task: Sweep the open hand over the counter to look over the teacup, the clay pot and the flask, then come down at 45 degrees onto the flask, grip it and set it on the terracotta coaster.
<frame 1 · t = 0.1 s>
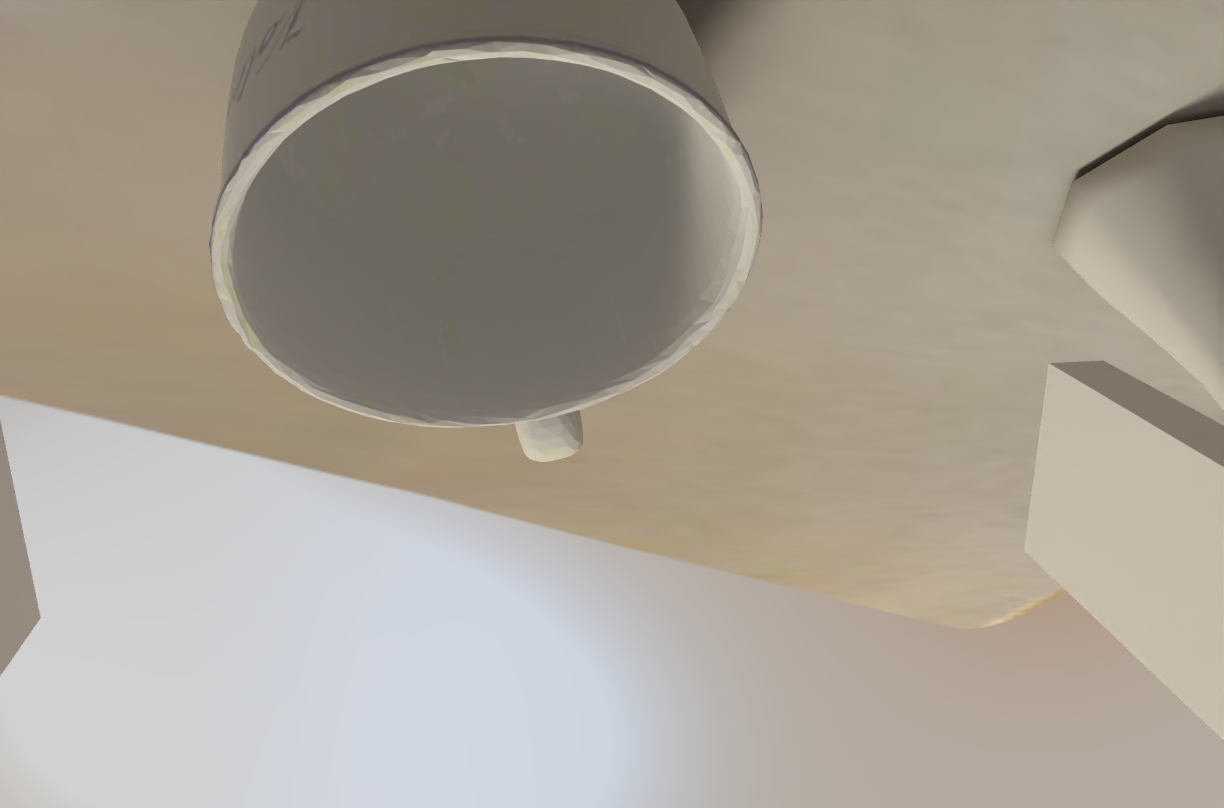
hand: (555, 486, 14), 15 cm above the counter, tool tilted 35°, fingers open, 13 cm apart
flask: (1164, 192, 34), on the counter
teacup: (479, 81, 28), on the counter
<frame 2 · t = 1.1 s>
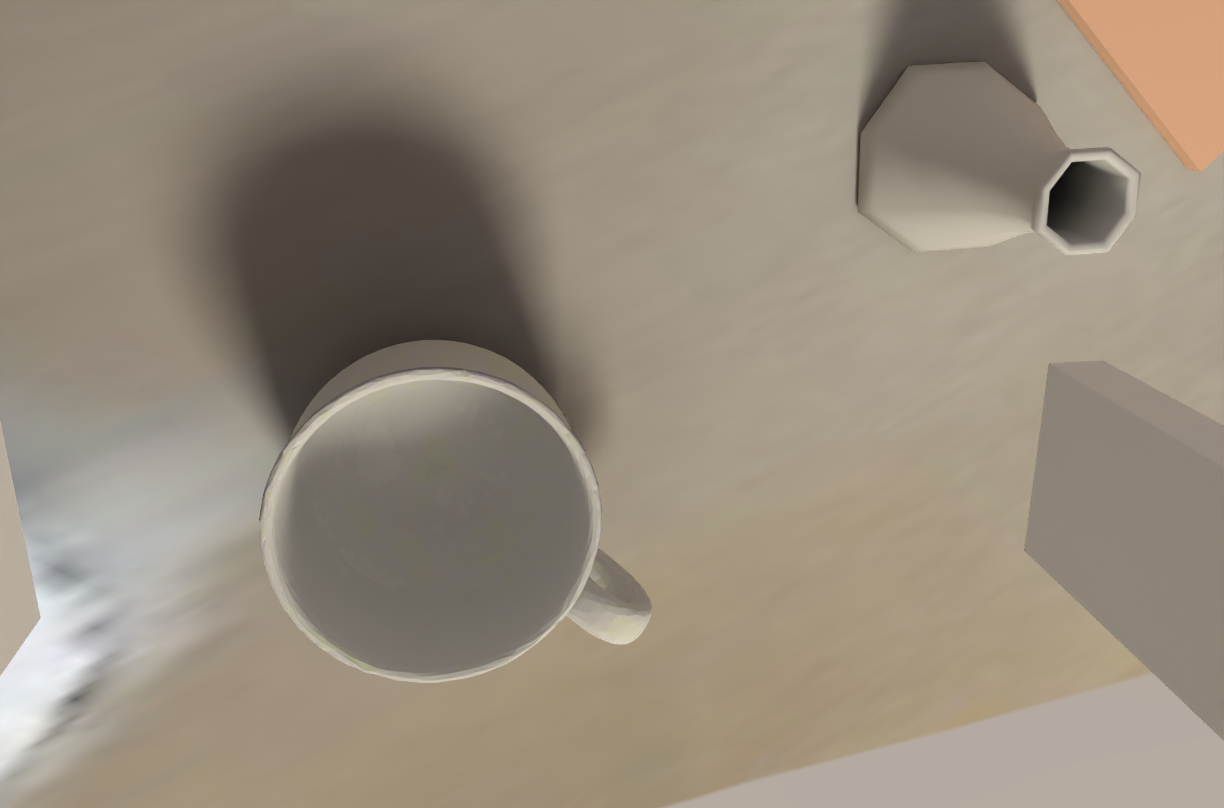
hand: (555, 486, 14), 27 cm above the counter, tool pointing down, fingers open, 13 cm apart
flask: (943, 157, 42), on the counter
teacup: (468, 467, 43), on the counter
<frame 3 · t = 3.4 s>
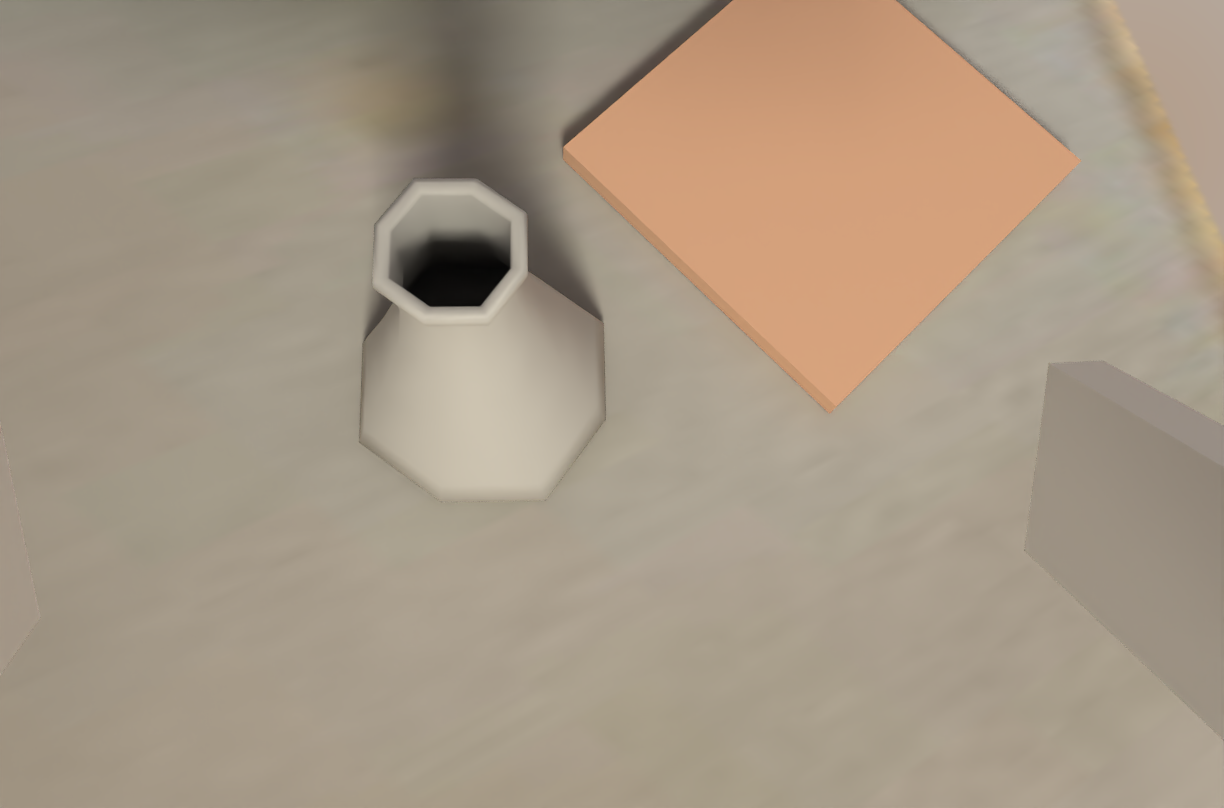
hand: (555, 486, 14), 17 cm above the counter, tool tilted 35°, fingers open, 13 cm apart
coaster: (818, 166, 34), on the counter
flask: (484, 386, 32), on the counter
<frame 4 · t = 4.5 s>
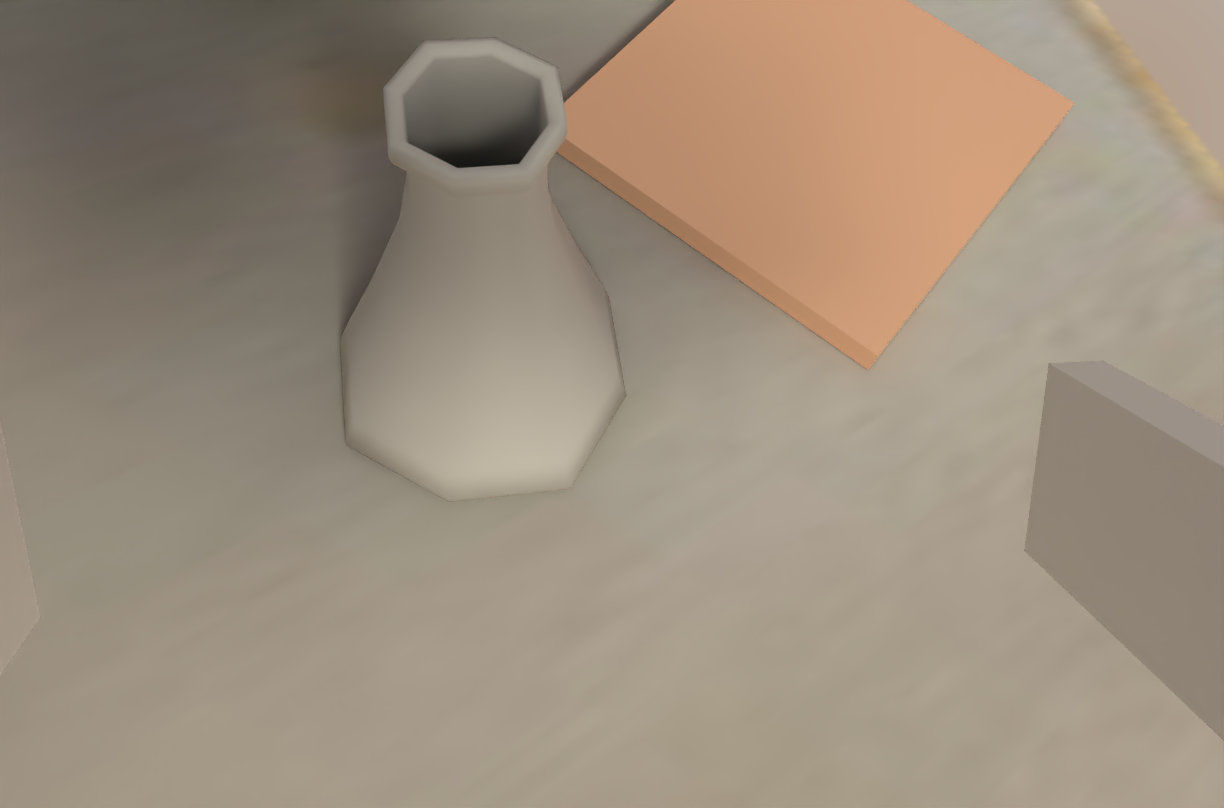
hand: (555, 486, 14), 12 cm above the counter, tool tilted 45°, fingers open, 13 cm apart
coaster: (810, 130, 32), on the counter
flask: (483, 376, 28), on the counter
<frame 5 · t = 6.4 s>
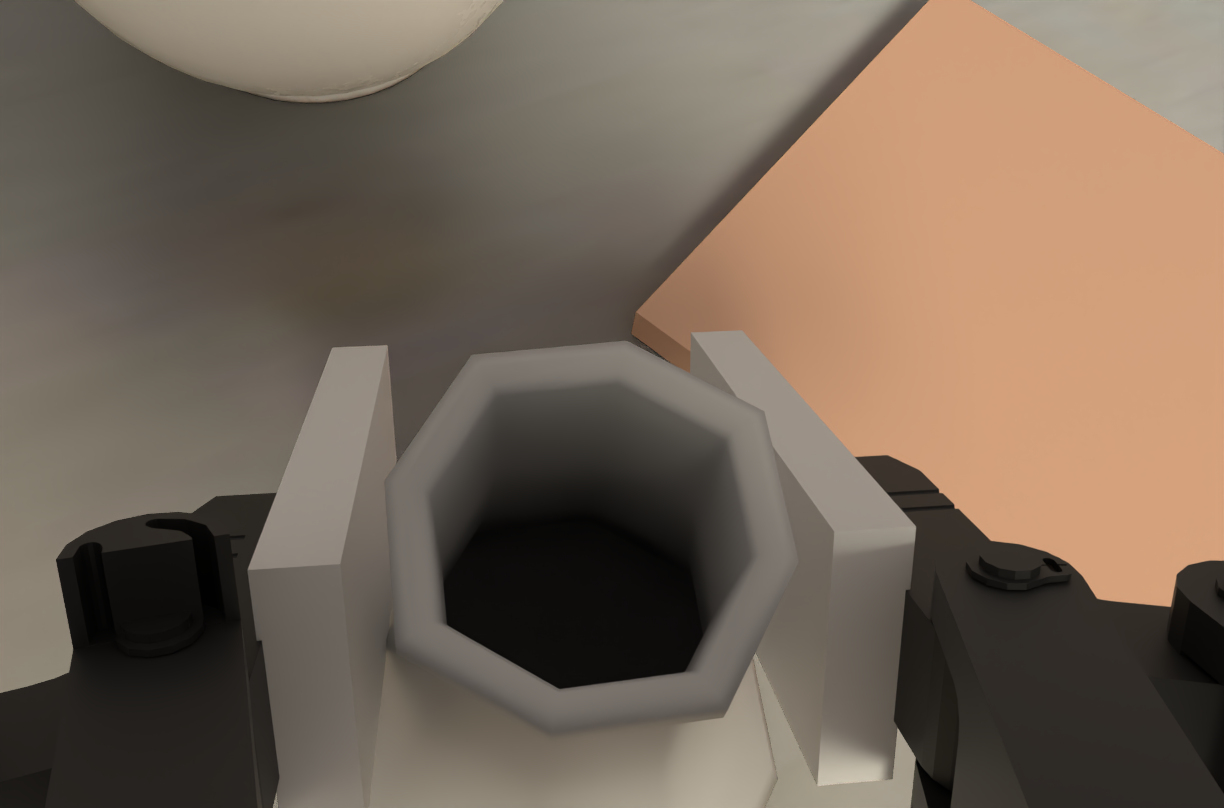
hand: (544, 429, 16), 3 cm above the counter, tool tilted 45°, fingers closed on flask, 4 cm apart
coaster: (1025, 310, 22), on the counter
flask: (546, 739, 17), on the counter, touching gripper
when the fingers open (5 cm above the counter, at t = 10.7 s): flask drops 1 cm, resting on coaster.
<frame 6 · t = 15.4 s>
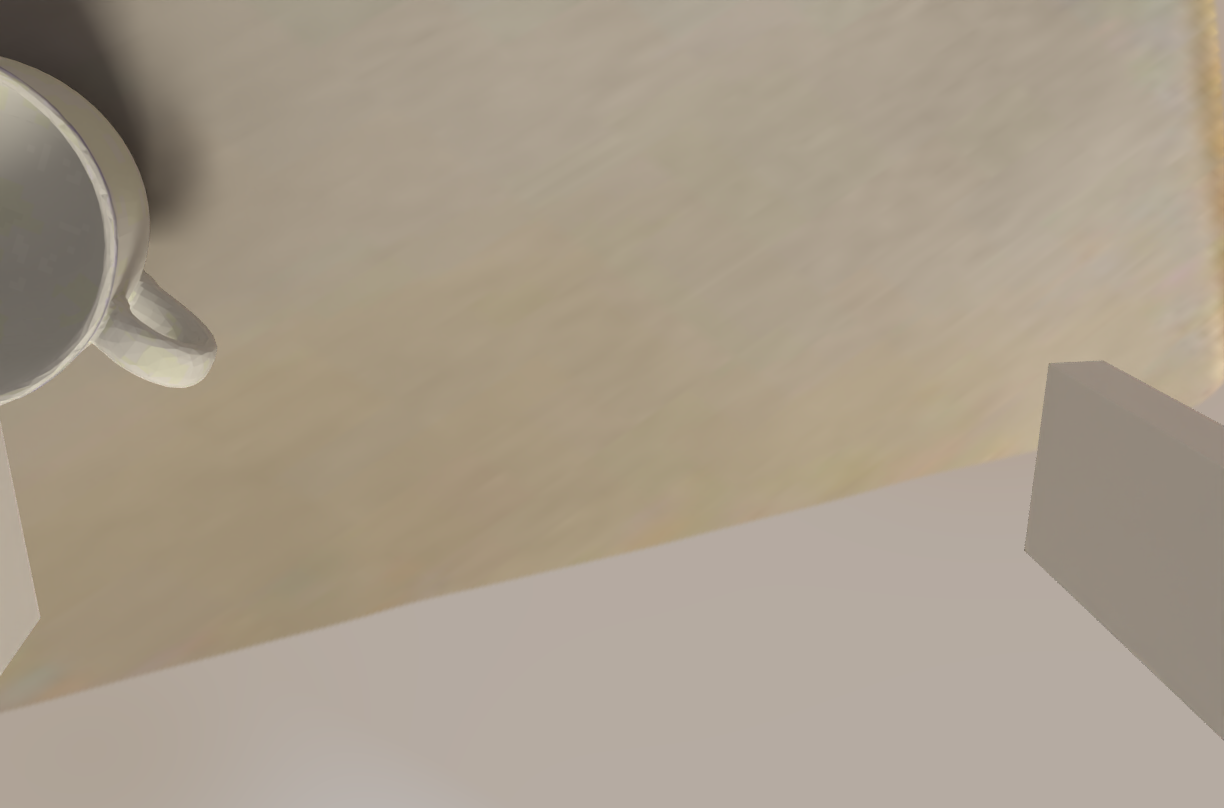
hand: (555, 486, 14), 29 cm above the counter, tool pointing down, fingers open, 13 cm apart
teacup: (59, 225, 40), on the counter
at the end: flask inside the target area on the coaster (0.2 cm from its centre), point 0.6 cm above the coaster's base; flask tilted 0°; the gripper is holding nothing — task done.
